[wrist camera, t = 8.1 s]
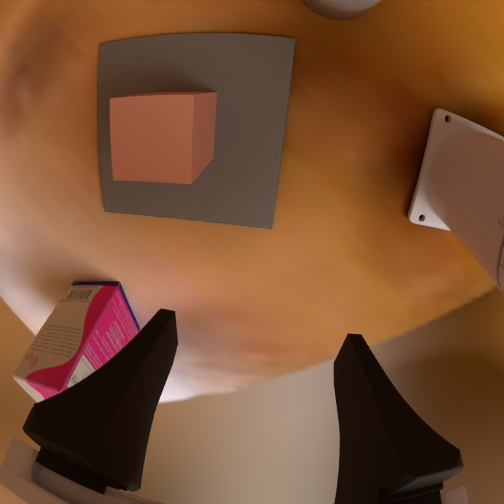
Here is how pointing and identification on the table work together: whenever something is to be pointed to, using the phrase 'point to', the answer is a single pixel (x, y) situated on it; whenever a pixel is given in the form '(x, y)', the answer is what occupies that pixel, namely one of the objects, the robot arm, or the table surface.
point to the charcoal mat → (226, 125)
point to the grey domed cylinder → (340, 8)
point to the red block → (162, 136)
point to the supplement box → (77, 338)
